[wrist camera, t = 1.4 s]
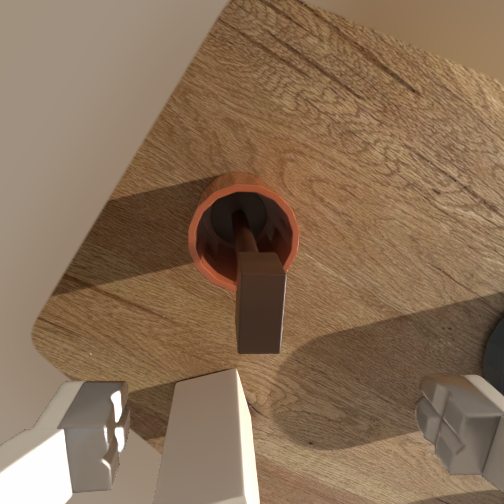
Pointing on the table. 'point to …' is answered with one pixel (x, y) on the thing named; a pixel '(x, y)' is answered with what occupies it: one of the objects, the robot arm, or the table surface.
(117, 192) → the table surface
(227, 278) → the crock
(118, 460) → the robot arm
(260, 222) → the brown wooden masher
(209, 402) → the milk carton
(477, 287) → the table surface
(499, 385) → the bowl
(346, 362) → the table surface
